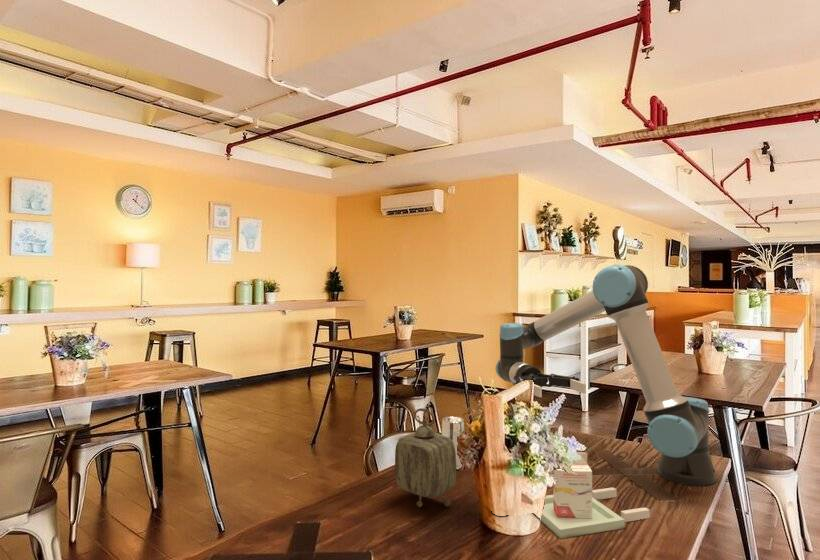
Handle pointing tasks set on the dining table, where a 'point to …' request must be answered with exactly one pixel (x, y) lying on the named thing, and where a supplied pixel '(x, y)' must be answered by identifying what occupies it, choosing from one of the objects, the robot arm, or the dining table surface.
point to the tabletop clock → (425, 462)
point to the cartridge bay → (626, 514)
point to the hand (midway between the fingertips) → (562, 390)
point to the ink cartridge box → (574, 490)
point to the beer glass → (453, 432)
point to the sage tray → (581, 520)
